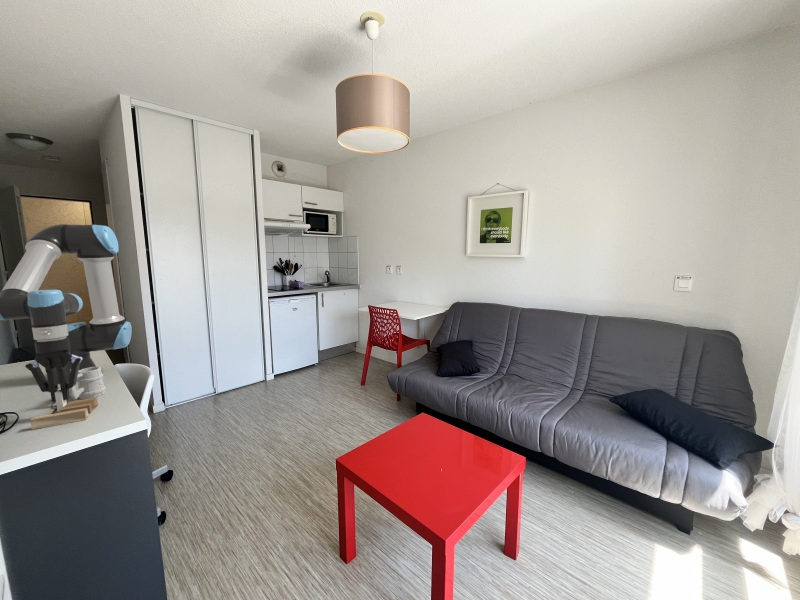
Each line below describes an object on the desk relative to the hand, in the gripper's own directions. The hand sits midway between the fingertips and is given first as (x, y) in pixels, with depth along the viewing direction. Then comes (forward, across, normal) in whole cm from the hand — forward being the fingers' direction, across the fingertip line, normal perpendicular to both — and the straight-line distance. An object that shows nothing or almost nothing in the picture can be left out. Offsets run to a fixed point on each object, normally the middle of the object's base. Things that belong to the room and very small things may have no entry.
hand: (62, 409), depth 105 cm
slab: (+2, +4, 0) cm, 5 cm away
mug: (+2, +2, +14) cm, 14 cm away
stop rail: (+2, +2, -8) cm, 8 cm away
